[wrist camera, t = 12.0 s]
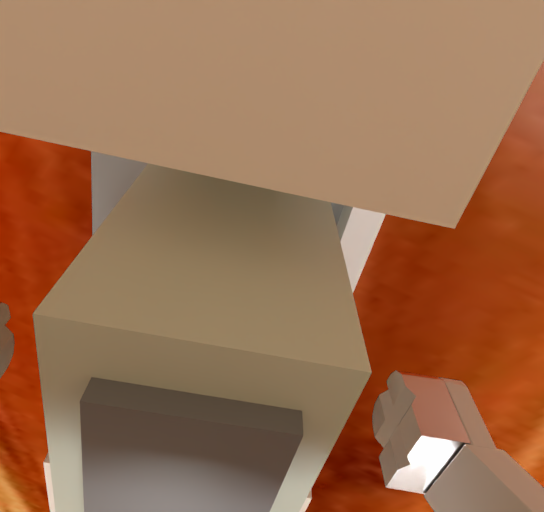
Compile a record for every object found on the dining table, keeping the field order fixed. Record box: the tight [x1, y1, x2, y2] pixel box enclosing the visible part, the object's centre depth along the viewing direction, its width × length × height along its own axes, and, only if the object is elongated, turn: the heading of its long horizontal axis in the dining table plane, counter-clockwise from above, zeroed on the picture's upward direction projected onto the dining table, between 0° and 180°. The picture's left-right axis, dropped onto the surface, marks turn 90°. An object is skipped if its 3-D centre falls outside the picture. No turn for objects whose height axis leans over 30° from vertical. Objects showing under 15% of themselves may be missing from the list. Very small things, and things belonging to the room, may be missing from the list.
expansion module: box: [33, 163, 372, 512], centre depth 10 cm, size 6×4×8 cm
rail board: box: [0, 0, 544, 512], centre depth 12 cm, size 22×9×8 cm, turn 167°
